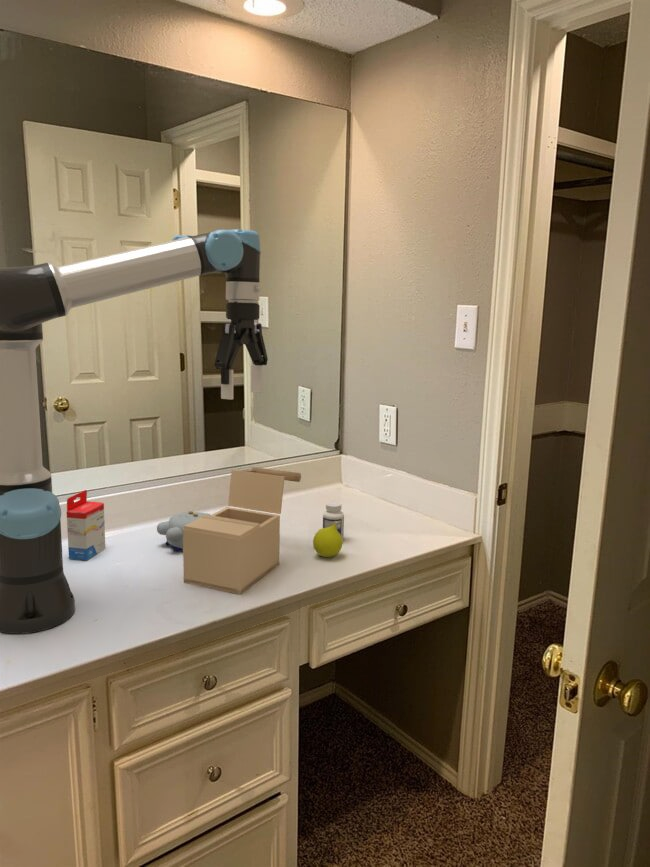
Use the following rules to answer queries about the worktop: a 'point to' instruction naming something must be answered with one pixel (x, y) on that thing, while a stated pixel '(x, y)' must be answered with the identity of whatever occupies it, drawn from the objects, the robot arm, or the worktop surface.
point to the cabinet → (230, 549)
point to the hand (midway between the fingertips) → (242, 395)
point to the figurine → (177, 528)
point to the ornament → (328, 541)
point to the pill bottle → (334, 517)
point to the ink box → (85, 527)
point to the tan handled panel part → (259, 488)
